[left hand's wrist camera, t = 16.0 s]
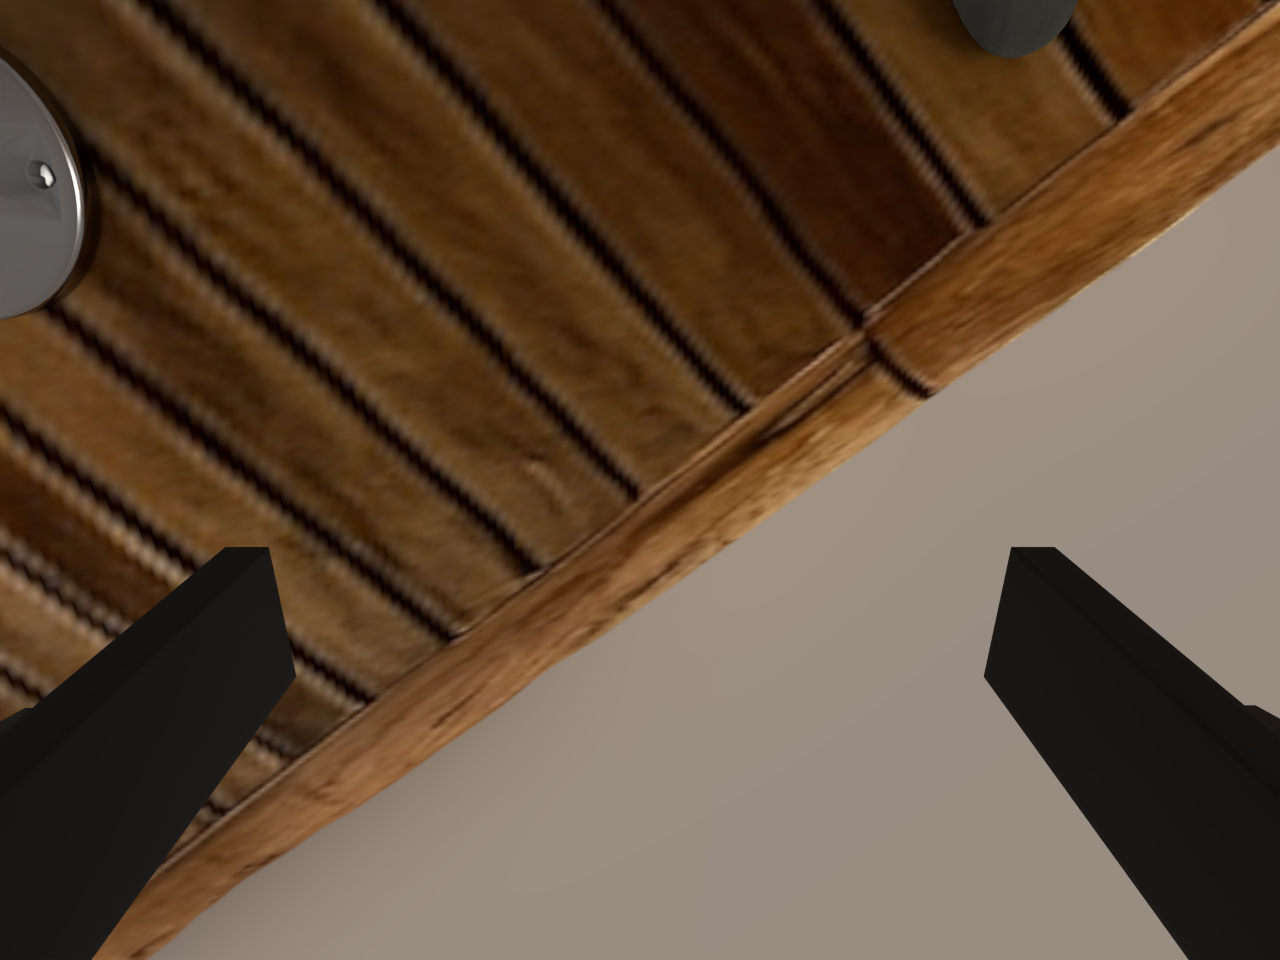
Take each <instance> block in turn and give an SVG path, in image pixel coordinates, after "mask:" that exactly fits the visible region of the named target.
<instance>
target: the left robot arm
mask: <svg viewBox="0 0 1280 960" xmlns="http://www.w3.org/2000/svg"><path fill="white" fill-rule="evenodd" d="M99 229H100V202H99V194H98V188H97V183H96V178H95V175H94V171H93V168H92V165H91V161H90V159H89V156H88V154H87V151H86V149H85V146H84V144H83V142H82V140H81V138H80V136H79V134H78V132H77V130H76V128H75V127H74V125H73V123H72V121H71V120H70V118H69V116H68V115H67V113H66V112H65V111H64V109H63V108H62V106H61V105H60V103H59V102H58V101H57V99H56V98H55V97H54V96H53V94H52V93H51V92H50V91H49V89H48V88H47V87H46V86H45V85H44V84H43V83H42V82H41V81H40V80H39V78H38V77H37V76H36V75H35V74H34V73H32V72H31V71H30V70H29V69H28V68H27V67H26V66H25V65H24V64H23V63H22V62H20V61H19V60H18V59H17V58H15V57H14V56H13V55H12V54H10V53H9V52H8V51H6V50H5V49H3V48H2V47H0V320H1V319H7V318H12V317H18V316H23V315H28V314H31V313H35V312H38V311H41V310H43V309H46V308H48V307H50V306H52V305H53V304H55V303H57V302H59V301H60V300H61V299H63V298H64V297H65V296H67V295H68V294H69V293H70V292H71V291H72V290H73V289H74V288H75V287H76V286H77V284H78V283H79V282H80V281H81V279H82V278H83V276H84V275H85V273H86V271H87V270H88V268H89V266H90V264H91V261H92V259H93V256H94V253H95V250H96V247H97V242H98V237H99ZM295 678H296V673H295V669H294V664H293V659H292V654H291V650H290V645H289V640H288V636H287V631H286V626H285V621H284V617H283V612H282V607H281V603H280V598H279V593H278V589H277V584H276V579H275V574H274V570H273V565H272V560H271V556H270V551H269V547H225V548H224V549H223V550H221V551H220V552H219V553H218V554H217V555H215V556H214V557H213V558H212V559H211V560H209V561H208V562H207V563H206V564H205V565H203V566H202V567H201V568H200V569H199V570H197V571H196V572H195V573H194V574H193V575H191V576H190V577H189V578H188V579H187V580H185V581H184V582H183V583H182V584H181V585H179V586H178V587H177V588H176V589H175V590H173V591H172V592H171V593H170V594H169V595H167V596H166V597H165V598H164V599H163V600H161V601H160V602H159V603H158V604H157V605H155V606H154V607H153V608H152V609H151V610H149V611H148V612H147V613H146V614H145V615H143V616H142V617H141V618H140V619H139V620H137V621H136V622H135V623H134V624H133V625H131V626H130V627H129V628H128V629H127V630H125V631H124V632H123V633H122V634H121V635H119V636H118V637H117V638H116V639H115V640H113V641H112V642H111V643H110V644H109V645H107V646H106V647H105V648H104V649H103V650H101V651H100V652H99V653H98V654H97V655H95V656H94V657H93V658H92V659H91V660H89V661H88V662H87V663H86V664H85V665H83V666H82V667H81V668H80V669H79V670H77V671H76V672H75V673H74V674H73V675H71V676H70V677H69V678H68V679H67V680H65V681H64V682H63V683H62V684H61V685H59V686H58V687H57V688H56V689H55V690H53V691H52V692H51V693H50V694H49V695H47V696H46V697H45V698H44V699H43V700H41V701H40V702H39V703H38V704H37V705H35V706H34V707H33V708H24V709H23V710H21V711H19V712H17V713H15V714H13V715H12V716H10V717H8V718H6V719H4V720H3V721H1V722H0V960H92V958H93V957H94V955H95V954H96V953H97V951H98V950H99V948H100V947H101V946H102V944H103V943H104V942H105V940H106V939H107V937H108V936H109V935H110V933H111V932H112V931H113V929H114V928H115V926H116V925H117V924H118V922H119V921H120V919H121V918H122V917H123V915H124V914H125V913H126V911H127V910H128V908H129V907H130V906H131V904H132V903H133V902H134V900H135V899H136V897H137V896H138V895H139V893H140V892H141V890H142V889H143V888H144V886H145V885H146V884H147V882H148V881H149V879H150V878H151V877H152V875H153V874H154V872H155V871H156V870H157V868H158V867H159V866H160V864H161V863H162V861H163V860H164V859H165V857H166V856H167V855H168V853H169V852H170V850H171V849H172V848H173V846H174V845H175V843H176V842H177V841H178V839H179V838H180V837H181V835H182V834H183V832H184V831H185V830H186V828H187V827H188V826H189V824H190V823H191V821H192V820H193V819H194V817H195V816H196V814H197V813H198V812H199V810H200V809H201V808H202V806H203V805H204V803H205V802H206V801H207V799H208V798H209V796H210V795H211V794H212V792H213V791H214V790H215V788H216V787H217V785H218V784H219V783H220V781H221V780H222V779H223V777H224V776H225V774H226V773H227V772H228V770H229V769H230V767H231V766H232V765H233V763H234V762H235V761H236V759H237V758H238V756H239V755H240V754H241V752H242V751H243V749H244V748H245V747H246V745H247V744H248V743H249V741H250V740H251V738H252V737H253V736H254V734H255V733H256V732H257V730H258V729H259V727H260V726H261V725H262V723H263V722H264V720H265V719H266V718H267V716H268V715H269V714H270V712H271V711H272V709H273V708H274V707H275V705H276V704H277V703H278V701H279V700H280V698H281V697H282V696H283V694H284V693H285V691H286V690H287V689H288V687H289V686H290V685H291V683H292V682H293V680H294V679H295ZM984 678H985V679H986V680H987V682H988V683H989V685H990V686H991V687H992V689H993V690H994V691H995V693H996V694H997V696H998V697H999V698H1000V700H1001V701H1002V703H1003V704H1004V705H1005V707H1006V708H1007V709H1008V711H1009V712H1010V713H1011V715H1012V716H1013V718H1014V719H1015V720H1016V722H1017V723H1018V725H1019V726H1020V727H1021V729H1022V730H1023V732H1024V733H1025V734H1026V736H1027V737H1028V738H1029V740H1030V741H1031V743H1032V744H1033V745H1034V747H1035V748H1036V749H1037V751H1038V752H1039V754H1040V755H1041V756H1042V758H1043V759H1044V761H1045V762H1046V763H1047V765H1048V766H1049V767H1050V769H1051V770H1052V772H1053V773H1054V774H1055V776H1056V777H1057V778H1058V780H1059V781H1060V783H1061V784H1062V785H1063V787H1064V788H1065V789H1066V791H1067V792H1068V794H1069V795H1070V796H1071V798H1072V799H1073V801H1074V802H1075V803H1076V805H1077V806H1078V807H1079V809H1080V810H1081V812H1082V813H1083V814H1084V816H1085V817H1086V819H1087V820H1088V821H1089V823H1090V824H1091V825H1092V827H1093V828H1094V830H1095V831H1096V832H1097V834H1098V835H1099V837H1100V838H1101V839H1102V841H1103V842H1104V843H1105V845H1106V846H1107V848H1108V849H1109V850H1110V852H1111V853H1112V855H1113V856H1114V857H1115V859H1116V860H1117V861H1118V863H1119V864H1120V866H1121V867H1122V868H1123V870H1124V871H1125V872H1126V874H1127V875H1128V877H1129V878H1130V879H1131V881H1132V882H1133V884H1134V885H1135V886H1136V888H1137V889H1138V890H1139V892H1140V893H1141V895H1142V896H1143V897H1144V899H1145V900H1146V901H1147V903H1148V904H1149V906H1150V907H1151V908H1152V910H1153V911H1154V913H1155V914H1156V915H1157V917H1158V918H1159V919H1160V921H1161V922H1162V924H1163V925H1164V926H1165V928H1166V929H1167V931H1168V932H1169V933H1170V935H1171V936H1172V937H1173V939H1174V940H1175V942H1176V943H1177V944H1178V946H1179V947H1180V948H1181V950H1182V951H1183V953H1184V954H1185V955H1186V957H1187V958H1188V960H1280V719H1279V718H1278V717H1276V716H1274V715H1272V714H1270V713H1268V712H1267V711H1265V710H1263V709H1261V708H1259V707H1257V706H1256V705H1243V704H1242V703H1241V702H1240V701H1239V700H1237V699H1236V698H1235V697H1234V696H1233V695H1231V694H1230V693H1229V692H1228V691H1227V690H1225V689H1224V688H1223V687H1222V686H1221V685H1219V684H1218V683H1217V682H1216V681H1215V680H1213V679H1212V678H1211V677H1210V676H1209V675H1207V674H1206V673H1205V672H1204V671H1203V670H1201V669H1200V668H1199V667H1198V666H1197V665H1195V664H1194V663H1193V662H1192V661H1191V660H1189V659H1188V658H1187V657H1186V656H1185V655H1183V654H1182V653H1181V652H1180V651H1179V650H1177V649H1176V648H1175V647H1174V646H1173V645H1171V644H1170V643H1169V642H1168V641H1167V640H1165V639H1164V638H1163V637H1162V636H1160V635H1159V634H1158V633H1157V632H1156V631H1155V630H1153V629H1152V628H1151V627H1150V626H1149V625H1147V624H1146V623H1145V622H1144V621H1143V620H1141V619H1140V618H1139V617H1138V616H1137V615H1135V614H1134V613H1133V612H1132V611H1131V610H1129V609H1128V608H1127V607H1126V606H1125V605H1123V604H1122V603H1121V602H1120V601H1119V600H1117V599H1116V598H1115V597H1114V596H1113V595H1111V594H1110V593H1109V592H1108V591H1107V590H1105V589H1104V588H1103V587H1102V586H1101V585H1099V584H1098V583H1097V582H1096V581H1095V580H1093V579H1092V578H1091V577H1090V576H1089V575H1087V574H1086V573H1085V572H1084V571H1083V570H1081V569H1080V568H1079V567H1078V566H1077V565H1075V564H1074V563H1073V562H1072V561H1071V560H1069V559H1068V558H1067V557H1066V556H1065V555H1063V554H1062V553H1061V552H1060V551H1059V550H1057V549H1056V548H1055V547H1011V551H1010V556H1009V560H1008V565H1007V570H1006V575H1005V579H1004V584H1003V589H1002V593H1001V598H1000V603H999V607H998V612H997V617H996V622H995V626H994V631H993V636H992V641H991V645H990V650H989V655H988V659H987V664H986V669H985V673H984Z"/></svg>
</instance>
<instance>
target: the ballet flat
mask: <svg viewBox="0 0 1280 960" xmlns="http://www.w3.org/2000/svg"><path fill="white" fill-rule="evenodd" d="M952 1H953V4H954V6H955V8H956V9H957V11H958V13H959V16H960V18H961V20H962V22H963V23H964V25H965V27H966V28H967V30H968V32H969V33H970V34H971V35H972V37H973V38H974V39H975V41H976V42H977V43H978V44H979V45H980V46H981V47H982V48H984V49H985V50H986V51H987V52H989V53H991V54H993V55H996V56H999V57H1005V58H1017V57H1021V56H1024V55H1027V54H1030V53H1032V52H1034V51H1036V50H1038V49H1040V48H1042V47H1044V46H1045V45H1046V44H1048V43H1049V42H1050V41H1052V40H1053V39H1054V38H1055V37H1056V36H1057V35H1058V34H1059V33H1060V31H1061V30H1062V29H1063V28H1064V26H1065V25H1066V24H1067V22H1068V20H1069V19H1070V16H1071V14H1072V12H1073V10H1074V8H1075V6H1076V4H1077V1H1078V0H952Z"/></svg>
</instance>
